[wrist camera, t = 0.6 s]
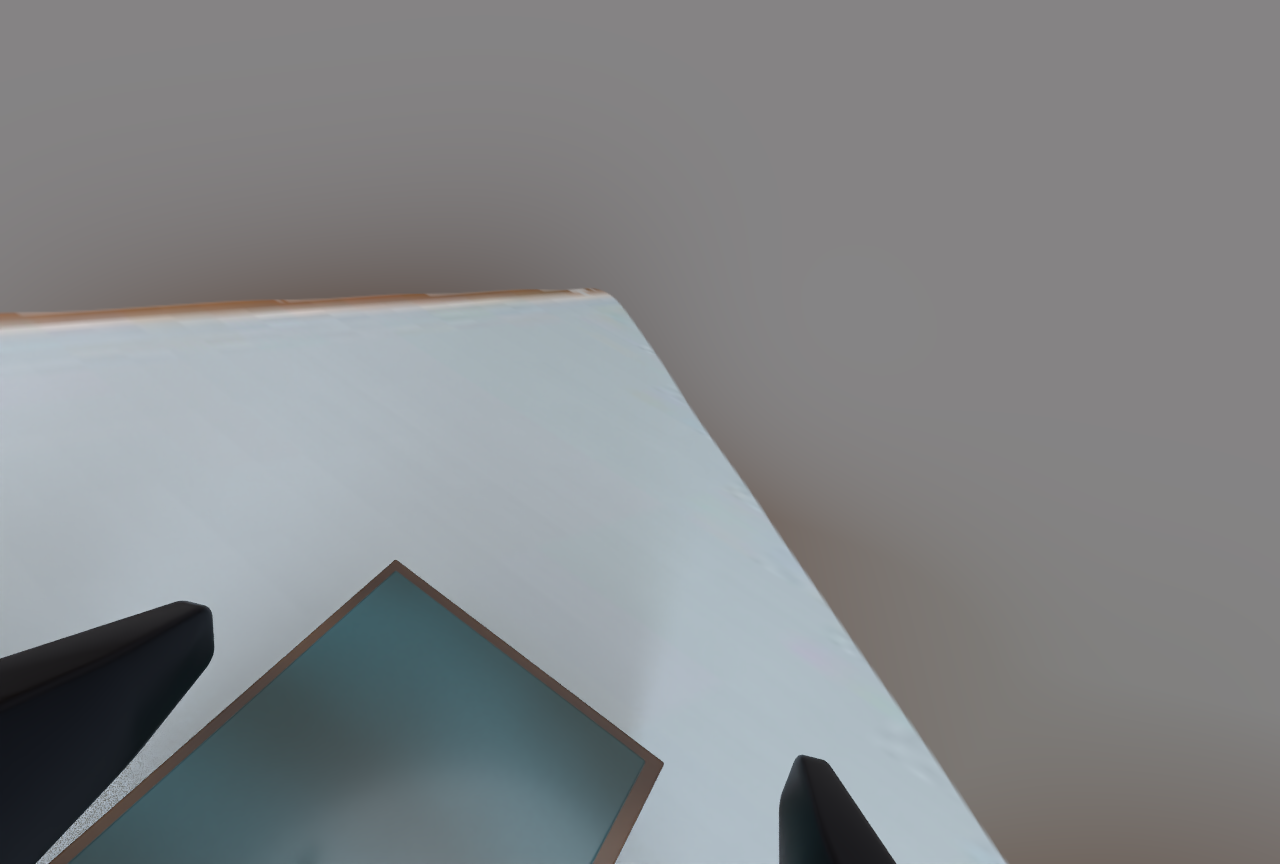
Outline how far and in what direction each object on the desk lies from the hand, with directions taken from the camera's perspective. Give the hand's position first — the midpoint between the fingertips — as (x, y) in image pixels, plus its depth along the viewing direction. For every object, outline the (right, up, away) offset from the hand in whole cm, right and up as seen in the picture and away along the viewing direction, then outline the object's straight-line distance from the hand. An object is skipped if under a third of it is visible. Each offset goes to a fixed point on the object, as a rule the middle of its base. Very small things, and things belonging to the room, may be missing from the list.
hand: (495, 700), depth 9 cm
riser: (-7, -11, +11) cm, 17 cm away
